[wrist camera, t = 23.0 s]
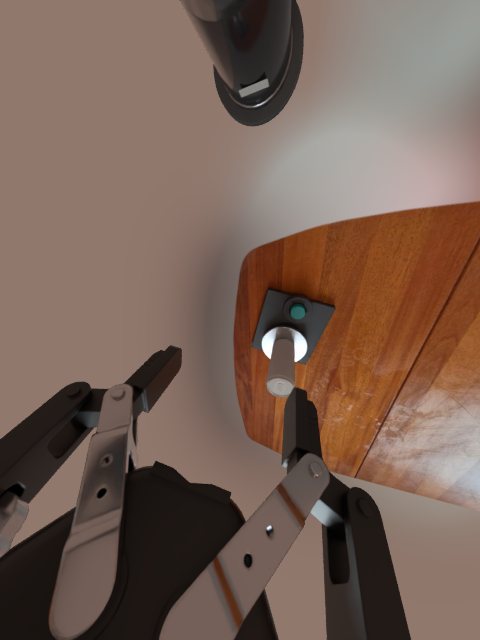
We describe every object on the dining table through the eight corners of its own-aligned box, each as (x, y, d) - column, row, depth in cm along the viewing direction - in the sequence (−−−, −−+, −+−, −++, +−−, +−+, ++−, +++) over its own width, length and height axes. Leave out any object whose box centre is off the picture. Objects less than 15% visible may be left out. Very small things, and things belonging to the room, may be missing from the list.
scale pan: (268, 319, 40) (268, 321, 39) (314, 333, 39) (314, 335, 38) (257, 353, 45) (257, 355, 45) (297, 366, 44) (297, 368, 43)
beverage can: (270, 351, 43) (263, 392, 33) (275, 334, 40) (269, 374, 30) (291, 357, 42) (290, 401, 32) (297, 340, 40) (298, 383, 30)
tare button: (293, 301, 37) (293, 304, 36) (307, 305, 37) (307, 308, 35) (288, 313, 39) (288, 316, 37) (302, 317, 38) (302, 320, 37)
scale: (269, 283, 39) (268, 288, 37) (336, 301, 38) (339, 308, 35) (252, 343, 48) (249, 351, 45) (305, 360, 46) (306, 369, 44)
